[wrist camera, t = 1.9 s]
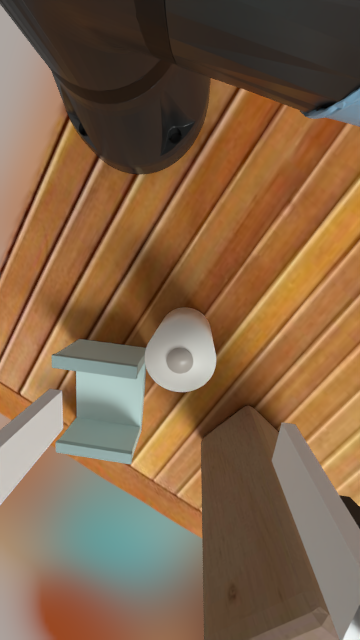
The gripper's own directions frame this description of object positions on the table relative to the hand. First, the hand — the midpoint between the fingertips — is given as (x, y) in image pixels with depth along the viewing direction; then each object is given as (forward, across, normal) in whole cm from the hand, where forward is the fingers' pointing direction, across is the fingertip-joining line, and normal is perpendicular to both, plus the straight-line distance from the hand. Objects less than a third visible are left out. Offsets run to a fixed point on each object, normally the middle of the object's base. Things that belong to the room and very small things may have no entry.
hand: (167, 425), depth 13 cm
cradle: (+18, -10, -10) cm, 22 cm away
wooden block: (+18, +11, -16) cm, 26 cm away
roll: (+18, 0, 0) cm, 18 cm away
